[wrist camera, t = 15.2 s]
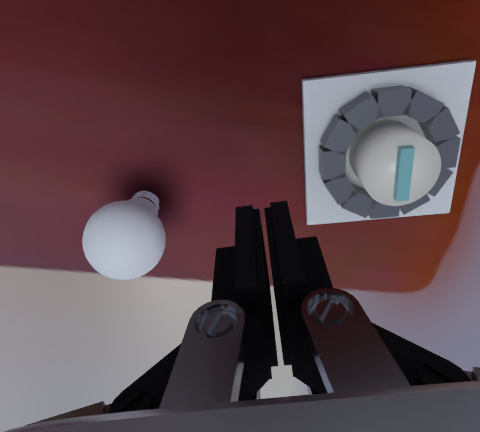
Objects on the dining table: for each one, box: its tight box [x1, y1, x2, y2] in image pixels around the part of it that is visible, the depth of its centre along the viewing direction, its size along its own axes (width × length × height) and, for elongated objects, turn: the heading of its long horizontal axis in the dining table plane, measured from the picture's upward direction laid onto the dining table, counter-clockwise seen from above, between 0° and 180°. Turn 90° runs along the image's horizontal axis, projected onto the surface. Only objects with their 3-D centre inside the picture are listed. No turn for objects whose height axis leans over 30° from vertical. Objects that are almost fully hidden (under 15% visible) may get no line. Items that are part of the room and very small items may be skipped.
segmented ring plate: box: [301, 60, 476, 225], centre depth 33 cm, size 14×14×3 cm
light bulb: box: [82, 191, 166, 280], centre depth 33 cm, size 7×7×11 cm
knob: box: [349, 119, 441, 206], centre depth 31 cm, size 6×6×6 cm
